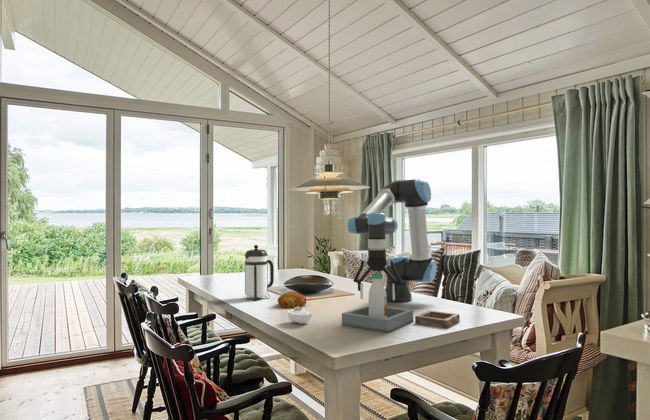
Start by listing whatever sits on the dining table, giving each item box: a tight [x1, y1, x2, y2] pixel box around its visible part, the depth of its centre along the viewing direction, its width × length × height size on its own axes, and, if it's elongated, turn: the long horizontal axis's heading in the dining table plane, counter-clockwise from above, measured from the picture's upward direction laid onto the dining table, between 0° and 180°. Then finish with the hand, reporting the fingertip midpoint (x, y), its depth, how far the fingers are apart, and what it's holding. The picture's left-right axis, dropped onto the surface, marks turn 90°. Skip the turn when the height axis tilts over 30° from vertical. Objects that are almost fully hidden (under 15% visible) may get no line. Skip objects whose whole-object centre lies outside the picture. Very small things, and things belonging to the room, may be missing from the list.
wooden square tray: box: [414, 310, 461, 329], centre depth 192 cm, size 14×14×3 cm
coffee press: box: [242, 244, 275, 302], centre depth 253 cm, size 17×16×30 cm
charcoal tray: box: [341, 304, 414, 334], centre depth 191 cm, size 22×22×5 cm
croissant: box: [277, 291, 308, 309], centre depth 231 cm, size 14×16×8 cm
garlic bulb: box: [286, 307, 313, 325], centre depth 194 cm, size 10×12×7 cm
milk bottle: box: [368, 273, 388, 318], centre depth 191 cm, size 8×8×20 cm
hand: (377, 299), depth 191 cm, fingers open, 13 cm apart
